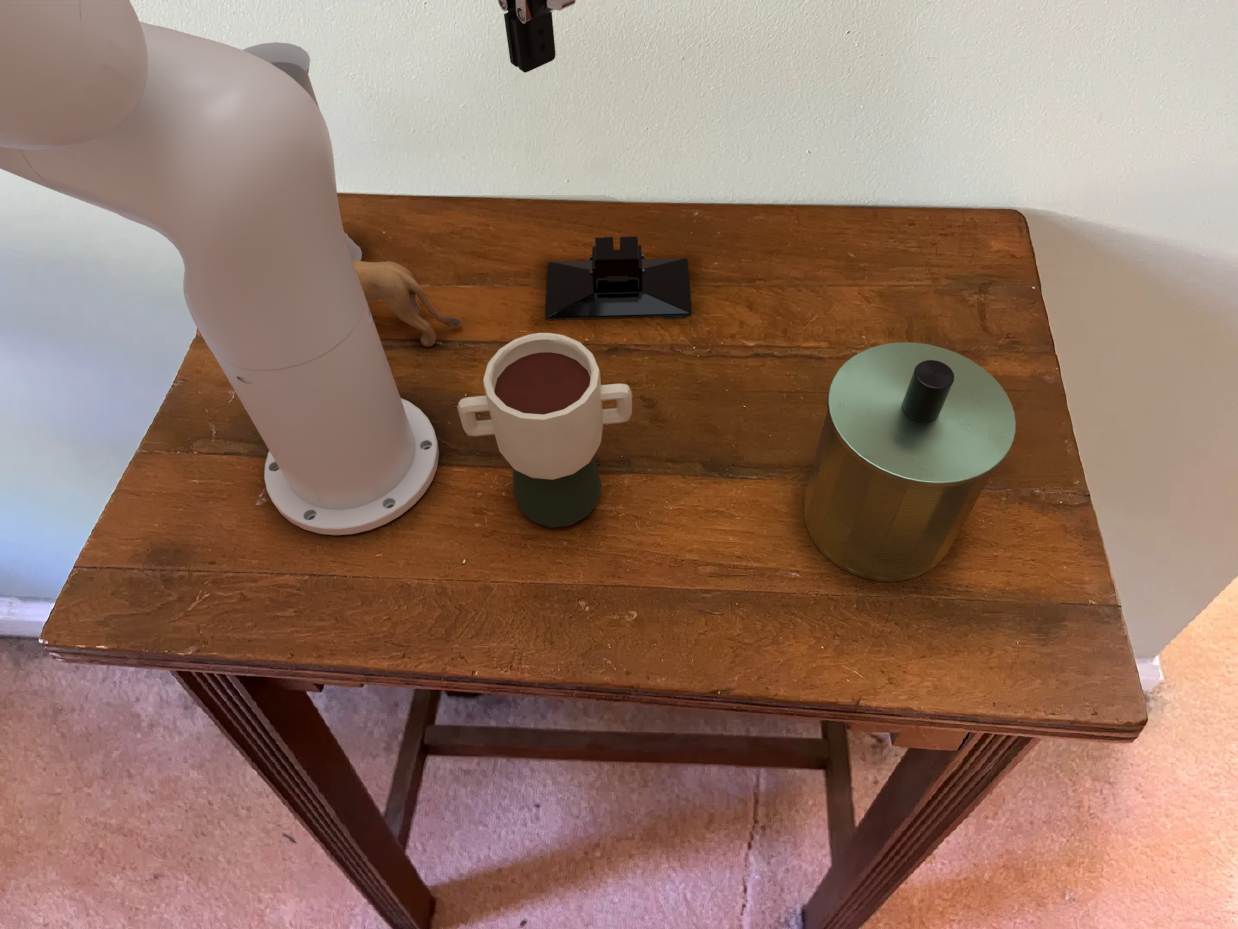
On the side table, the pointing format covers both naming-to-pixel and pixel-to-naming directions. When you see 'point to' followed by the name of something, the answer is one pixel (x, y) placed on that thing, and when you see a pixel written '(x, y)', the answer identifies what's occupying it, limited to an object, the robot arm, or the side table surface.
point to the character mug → (548, 423)
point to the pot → (880, 515)
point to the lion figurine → (399, 295)
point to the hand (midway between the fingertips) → (533, 61)
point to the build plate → (618, 284)
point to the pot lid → (921, 414)
